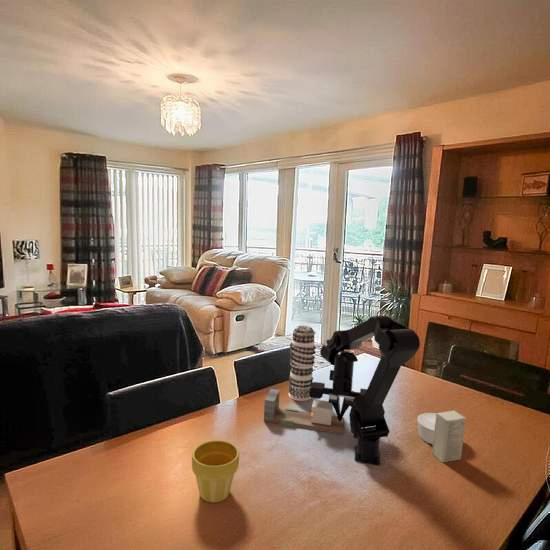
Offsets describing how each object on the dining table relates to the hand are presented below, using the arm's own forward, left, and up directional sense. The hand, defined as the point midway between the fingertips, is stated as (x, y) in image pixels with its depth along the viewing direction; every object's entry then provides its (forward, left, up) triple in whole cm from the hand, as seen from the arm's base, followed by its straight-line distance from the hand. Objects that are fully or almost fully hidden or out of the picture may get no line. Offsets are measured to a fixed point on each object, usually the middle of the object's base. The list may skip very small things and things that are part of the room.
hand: (339, 420), depth 116 cm
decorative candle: (+17, +15, -2) cm, 23 cm away
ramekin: (+2, -28, -2) cm, 28 cm away
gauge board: (0, +11, -2) cm, 11 cm away
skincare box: (-7, -29, -2) cm, 30 cm away
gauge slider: (-2, +6, -1) cm, 6 cm away
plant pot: (-37, +26, -2) cm, 45 cm away
